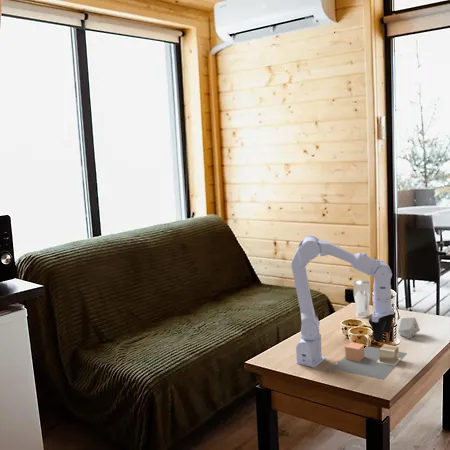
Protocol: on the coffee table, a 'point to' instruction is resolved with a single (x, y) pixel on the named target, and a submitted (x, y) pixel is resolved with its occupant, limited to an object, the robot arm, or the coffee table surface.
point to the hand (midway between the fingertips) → (382, 335)
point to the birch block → (388, 354)
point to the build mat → (368, 364)
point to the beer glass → (362, 298)
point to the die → (407, 326)
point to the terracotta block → (355, 351)
